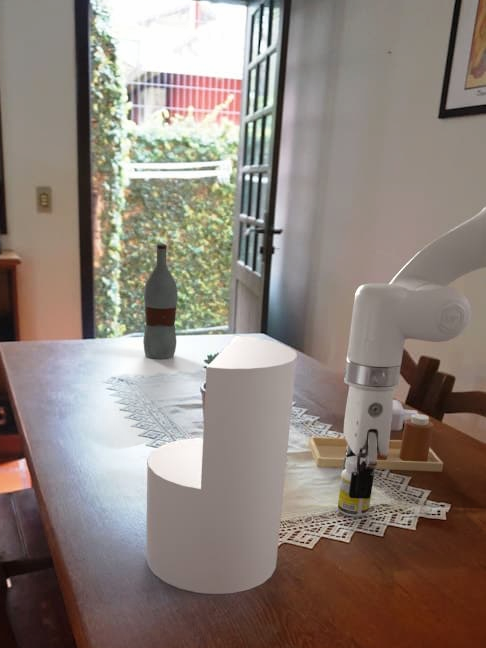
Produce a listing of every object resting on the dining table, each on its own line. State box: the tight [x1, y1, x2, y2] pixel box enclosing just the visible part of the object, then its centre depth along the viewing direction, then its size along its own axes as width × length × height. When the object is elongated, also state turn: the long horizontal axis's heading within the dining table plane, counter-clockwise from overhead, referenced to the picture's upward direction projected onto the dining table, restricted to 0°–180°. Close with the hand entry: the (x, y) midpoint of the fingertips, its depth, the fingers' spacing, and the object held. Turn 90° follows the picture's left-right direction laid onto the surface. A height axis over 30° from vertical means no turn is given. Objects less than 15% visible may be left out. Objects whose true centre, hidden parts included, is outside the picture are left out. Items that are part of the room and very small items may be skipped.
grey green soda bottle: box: [143, 243, 179, 360], centre depth 187 cm, size 9×9×30 cm
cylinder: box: [145, 334, 298, 595], centre depth 85 cm, size 17×17×28 cm
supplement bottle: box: [337, 456, 372, 518], centre depth 104 cm, size 5×5×8 cm
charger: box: [391, 399, 419, 432], centre depth 144 cm, size 5×9×15 cm
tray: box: [308, 436, 444, 472], centre depth 126 cm, size 22×11×2 cm, turn 90°
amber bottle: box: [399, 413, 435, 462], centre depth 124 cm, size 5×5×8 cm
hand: (355, 488), depth 104 cm, fingers closed on supplement bottle, 4 cm apart
